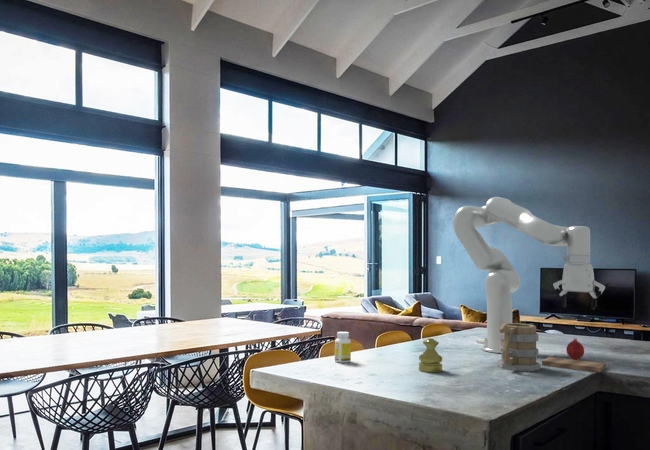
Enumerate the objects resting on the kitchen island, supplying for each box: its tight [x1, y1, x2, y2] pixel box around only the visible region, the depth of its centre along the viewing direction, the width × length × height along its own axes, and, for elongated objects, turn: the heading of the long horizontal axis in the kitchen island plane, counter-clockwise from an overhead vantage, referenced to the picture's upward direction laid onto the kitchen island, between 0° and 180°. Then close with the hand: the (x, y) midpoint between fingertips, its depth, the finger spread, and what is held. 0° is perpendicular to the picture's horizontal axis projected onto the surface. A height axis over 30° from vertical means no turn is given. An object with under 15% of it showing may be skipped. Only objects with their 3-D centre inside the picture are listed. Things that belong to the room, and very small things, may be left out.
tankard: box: [496, 322, 542, 372], centre depth 181 cm, size 20×13×15 cm, turn 134°
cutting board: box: [541, 356, 607, 373], centre depth 187 cm, size 18×10×2 cm, turn 54°
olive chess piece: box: [418, 337, 443, 374], centre depth 175 cm, size 7×7×10 cm
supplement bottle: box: [334, 331, 352, 364], centre depth 187 cm, size 5×5×10 cm
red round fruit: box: [566, 337, 585, 360], centre depth 198 cm, size 6×6×8 cm
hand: (578, 308), depth 198 cm, fingers open, 9 cm apart
